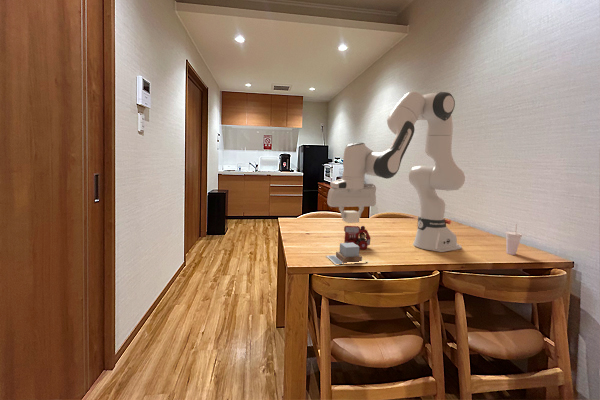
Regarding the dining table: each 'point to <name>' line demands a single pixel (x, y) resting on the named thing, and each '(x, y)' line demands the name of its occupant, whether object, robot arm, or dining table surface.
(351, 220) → the cream brick
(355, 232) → the toy fire truck
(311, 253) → the dining table surface
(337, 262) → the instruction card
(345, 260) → the plinth
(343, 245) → the slate brick
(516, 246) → the smoothie
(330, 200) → the robot arm
